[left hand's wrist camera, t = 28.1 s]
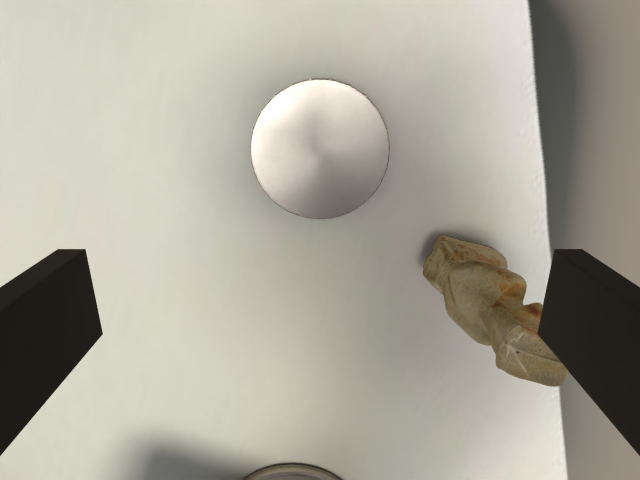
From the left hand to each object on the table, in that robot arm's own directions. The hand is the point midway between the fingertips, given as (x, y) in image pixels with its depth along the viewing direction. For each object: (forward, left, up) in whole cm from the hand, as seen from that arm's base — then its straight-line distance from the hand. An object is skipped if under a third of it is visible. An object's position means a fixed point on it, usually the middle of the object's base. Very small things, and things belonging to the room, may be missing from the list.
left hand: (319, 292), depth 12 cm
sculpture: (-13, -9, -26) cm, 30 cm away
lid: (0, 0, -24) cm, 24 cm away
